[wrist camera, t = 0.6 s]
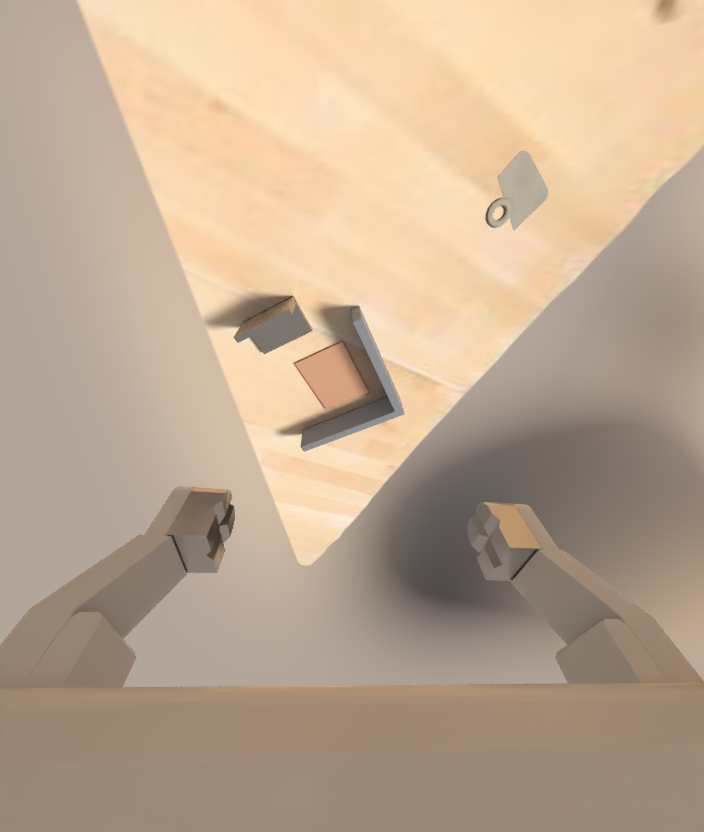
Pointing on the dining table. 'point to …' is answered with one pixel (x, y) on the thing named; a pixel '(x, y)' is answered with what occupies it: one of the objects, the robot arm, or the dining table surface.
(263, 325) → the angle bracket
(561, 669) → the robot arm
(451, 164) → the dining table surface
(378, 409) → the grey l-shaped piece
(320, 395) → the mat
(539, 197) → the mounting bracket
